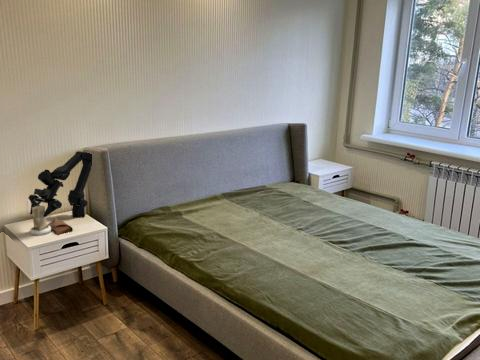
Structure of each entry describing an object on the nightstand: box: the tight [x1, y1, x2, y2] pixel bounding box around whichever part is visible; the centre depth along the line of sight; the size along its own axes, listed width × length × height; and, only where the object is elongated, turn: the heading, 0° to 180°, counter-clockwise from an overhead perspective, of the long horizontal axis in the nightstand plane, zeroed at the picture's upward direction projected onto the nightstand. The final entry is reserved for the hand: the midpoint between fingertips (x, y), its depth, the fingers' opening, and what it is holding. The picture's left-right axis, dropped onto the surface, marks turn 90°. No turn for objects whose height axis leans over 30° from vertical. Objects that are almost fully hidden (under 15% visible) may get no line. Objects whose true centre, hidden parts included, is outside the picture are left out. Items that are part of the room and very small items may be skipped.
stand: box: [29, 226, 52, 236], centre depth 244 cm, size 10×10×2 cm
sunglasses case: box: [47, 217, 74, 236], centre depth 249 cm, size 18×7×7 cm, turn 46°
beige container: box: [31, 204, 48, 231], centre depth 242 cm, size 5×6×12 cm
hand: (37, 215), depth 240 cm, fingers open, 9 cm apart
